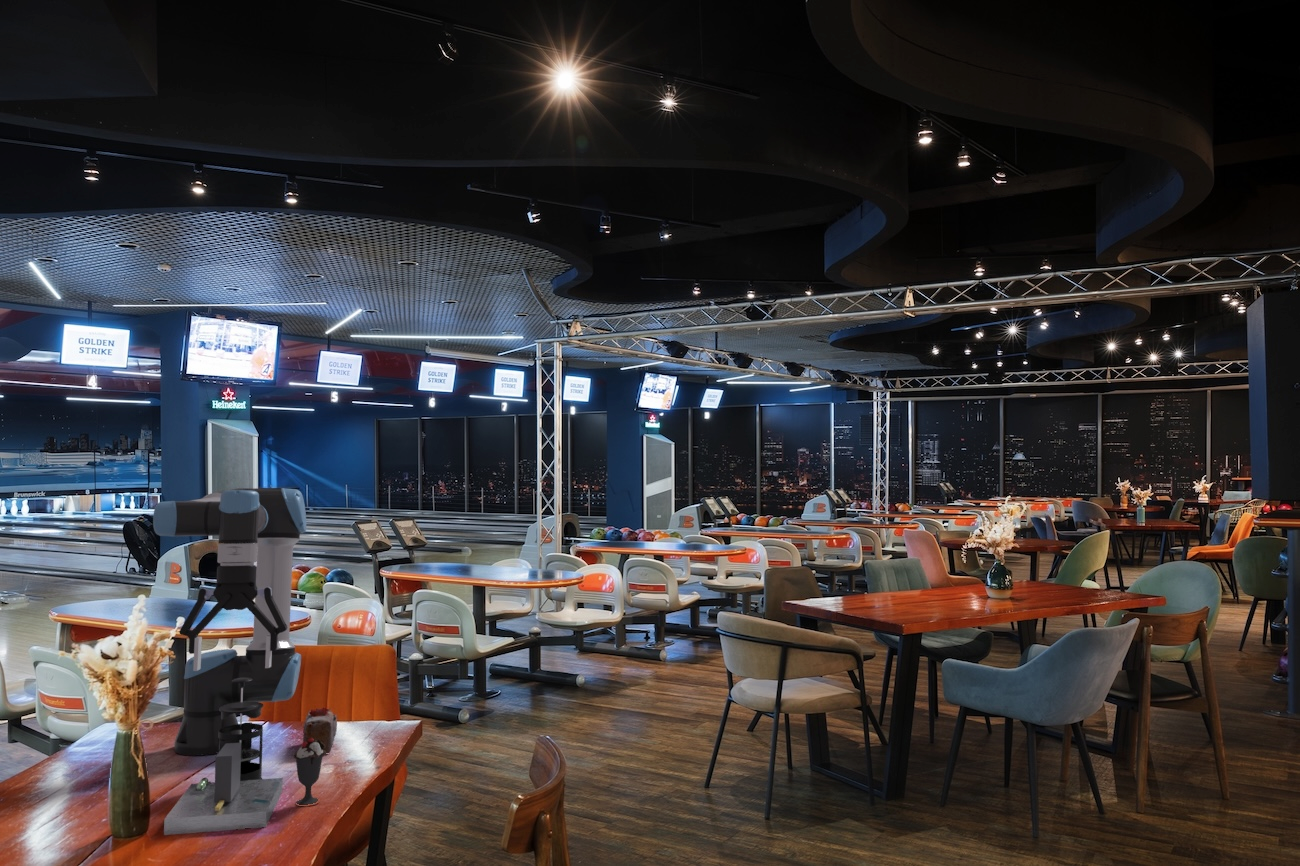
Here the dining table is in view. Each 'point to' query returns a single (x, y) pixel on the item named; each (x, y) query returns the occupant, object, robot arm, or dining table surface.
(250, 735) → the french press
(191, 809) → the base
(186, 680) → the robot arm
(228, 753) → the dark grey rectangular block
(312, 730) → the food item
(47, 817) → the dining table surface
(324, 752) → the sundae
